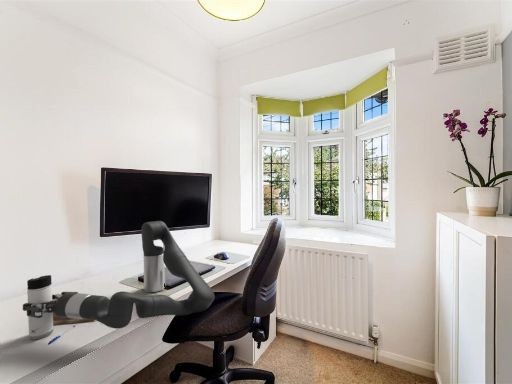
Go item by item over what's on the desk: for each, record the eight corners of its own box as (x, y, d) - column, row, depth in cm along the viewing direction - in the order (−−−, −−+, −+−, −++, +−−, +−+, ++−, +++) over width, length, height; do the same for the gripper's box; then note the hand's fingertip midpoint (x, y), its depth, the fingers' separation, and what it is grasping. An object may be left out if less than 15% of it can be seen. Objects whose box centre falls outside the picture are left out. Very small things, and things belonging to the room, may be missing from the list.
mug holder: (112, 301, 108) (112, 293, 108) (95, 321, 92) (94, 311, 92) (61, 305, 105) (61, 297, 105) (34, 326, 89) (34, 317, 89)
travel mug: (33, 342, 80) (31, 281, 79) (26, 336, 83) (24, 277, 83) (56, 332, 85) (54, 275, 84) (49, 327, 88) (47, 271, 88)
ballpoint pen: (50, 345, 78) (49, 342, 78) (47, 345, 78) (47, 342, 78) (75, 326, 89) (75, 324, 89) (73, 326, 89) (73, 324, 89)
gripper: (55, 329, 74) (11, 324, 77) (94, 306, 88) (56, 303, 91) (55, 304, 74) (10, 300, 77) (94, 285, 88) (55, 282, 91)
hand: (35, 301), depth 84 cm, fingers closed on travel mug, 6 cm apart
